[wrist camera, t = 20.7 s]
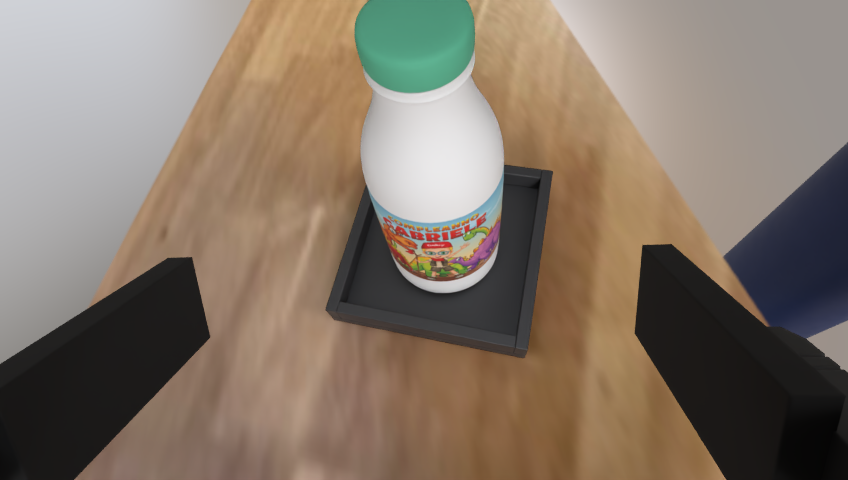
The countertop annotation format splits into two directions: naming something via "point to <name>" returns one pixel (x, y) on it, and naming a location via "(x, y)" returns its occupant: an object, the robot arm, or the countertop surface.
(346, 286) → the dock tray
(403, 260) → the milk bottle
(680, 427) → the countertop surface
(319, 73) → the countertop surface
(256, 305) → the countertop surface
